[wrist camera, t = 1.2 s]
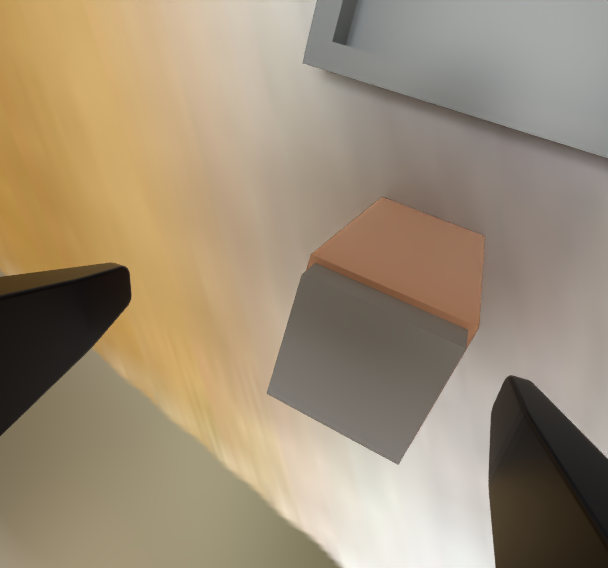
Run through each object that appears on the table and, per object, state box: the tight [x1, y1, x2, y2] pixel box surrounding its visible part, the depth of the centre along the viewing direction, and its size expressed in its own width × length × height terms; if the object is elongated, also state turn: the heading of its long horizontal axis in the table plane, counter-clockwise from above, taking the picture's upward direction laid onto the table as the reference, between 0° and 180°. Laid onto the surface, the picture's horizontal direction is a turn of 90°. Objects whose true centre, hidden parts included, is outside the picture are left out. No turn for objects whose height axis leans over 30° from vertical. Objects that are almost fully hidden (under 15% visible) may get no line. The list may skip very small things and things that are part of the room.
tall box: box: [267, 197, 485, 464], centre depth 16 cm, size 5×5×10 cm
